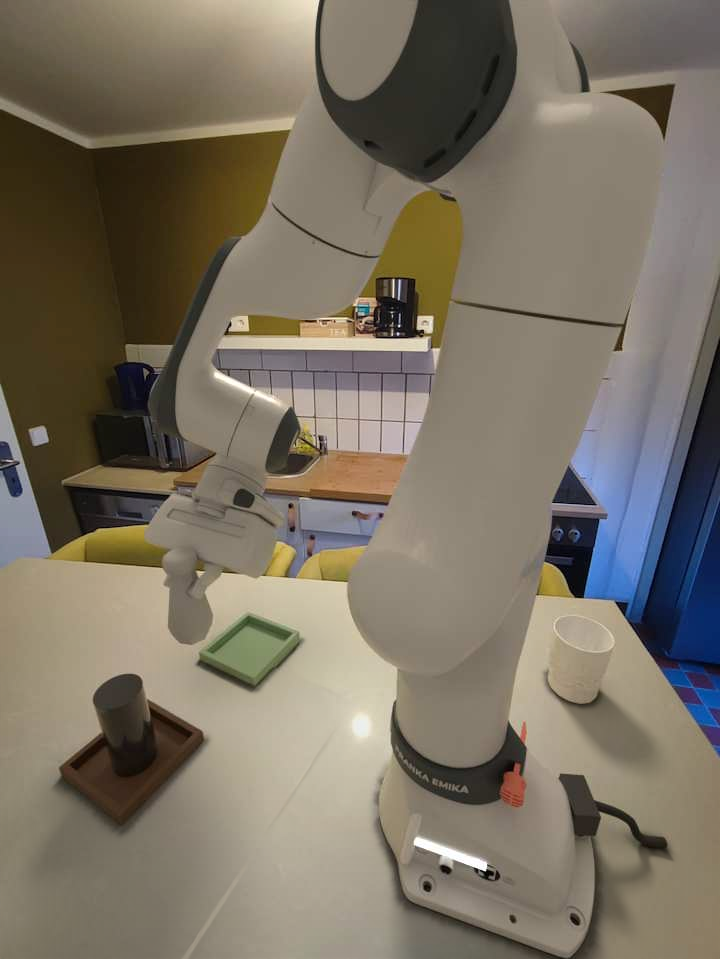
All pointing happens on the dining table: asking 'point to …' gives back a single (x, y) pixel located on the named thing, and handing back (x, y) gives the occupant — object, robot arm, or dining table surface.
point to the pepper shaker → (126, 724)
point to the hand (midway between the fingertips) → (181, 592)
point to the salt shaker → (185, 598)
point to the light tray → (250, 647)
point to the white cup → (578, 657)
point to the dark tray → (130, 793)
